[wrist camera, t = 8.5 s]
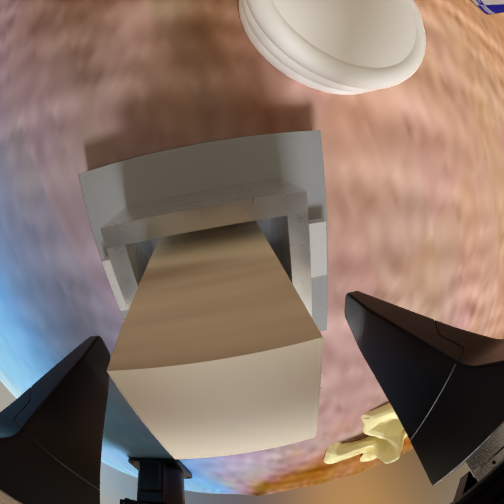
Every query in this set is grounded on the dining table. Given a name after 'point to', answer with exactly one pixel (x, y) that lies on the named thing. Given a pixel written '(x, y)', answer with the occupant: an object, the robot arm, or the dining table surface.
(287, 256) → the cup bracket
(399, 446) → the cloth
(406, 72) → the white thick disc
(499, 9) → the beverage can
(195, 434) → the wooden block
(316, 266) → the plate
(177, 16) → the dining table surface
